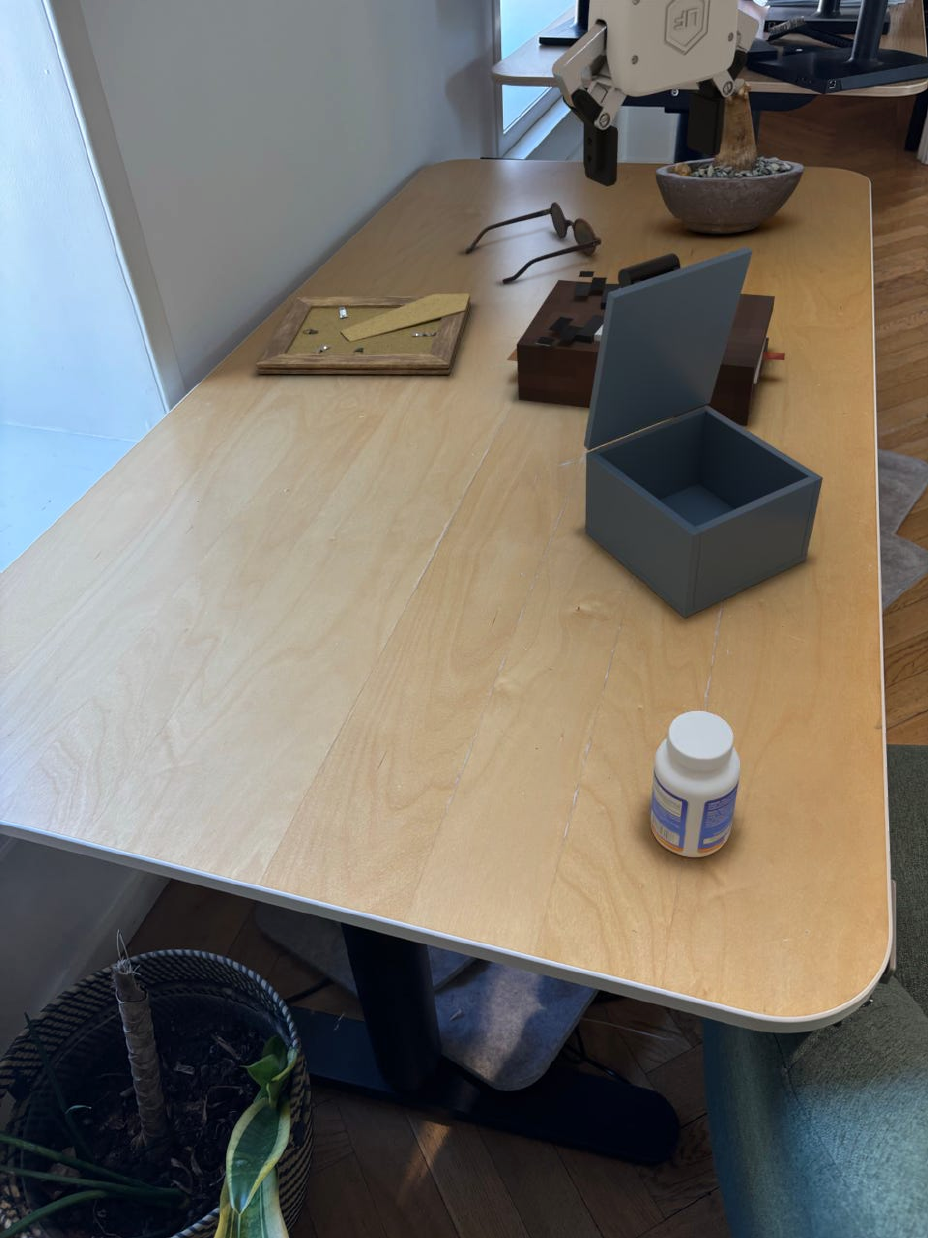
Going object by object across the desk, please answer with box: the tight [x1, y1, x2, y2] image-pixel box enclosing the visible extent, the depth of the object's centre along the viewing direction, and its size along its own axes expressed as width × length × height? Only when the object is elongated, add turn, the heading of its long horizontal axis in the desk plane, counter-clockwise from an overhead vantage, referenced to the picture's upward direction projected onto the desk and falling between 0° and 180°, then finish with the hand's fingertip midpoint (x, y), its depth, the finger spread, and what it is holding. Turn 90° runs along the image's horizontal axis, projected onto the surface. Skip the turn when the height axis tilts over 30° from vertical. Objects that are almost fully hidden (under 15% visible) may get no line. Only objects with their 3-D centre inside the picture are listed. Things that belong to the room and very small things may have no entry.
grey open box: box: [584, 405, 824, 619], centre depth 87 cm, size 15×14×9 cm
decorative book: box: [506, 270, 786, 426], centre depth 112 cm, size 19×8×30 cm
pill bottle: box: [649, 710, 742, 858], centre depth 65 cm, size 5×5×10 cm
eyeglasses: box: [465, 201, 602, 284], centre depth 140 cm, size 15×15×5 cm
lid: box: [583, 246, 754, 451], centre depth 84 cm, size 15×14×5 cm
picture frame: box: [256, 293, 472, 375], centre depth 125 cm, size 19×2×24 cm
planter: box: [654, 78, 805, 235], centre depth 137 cm, size 15×17×20 cm
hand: (652, 165), depth 75 cm, fingers open, 9 cm apart
